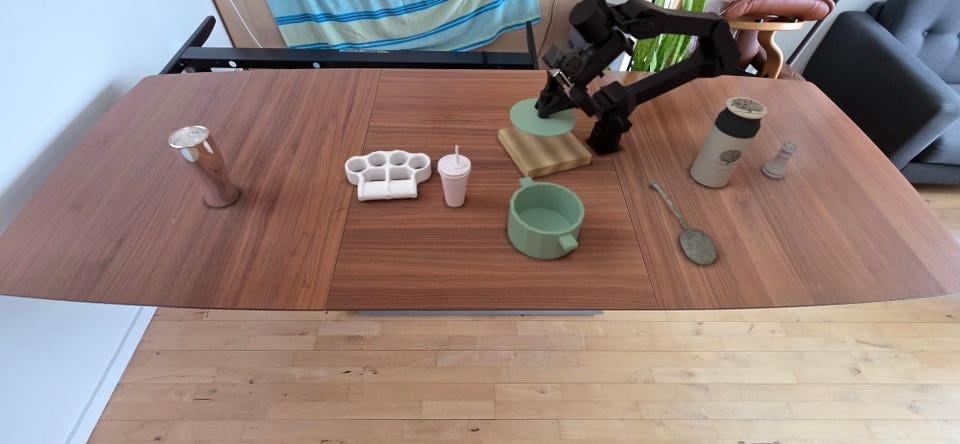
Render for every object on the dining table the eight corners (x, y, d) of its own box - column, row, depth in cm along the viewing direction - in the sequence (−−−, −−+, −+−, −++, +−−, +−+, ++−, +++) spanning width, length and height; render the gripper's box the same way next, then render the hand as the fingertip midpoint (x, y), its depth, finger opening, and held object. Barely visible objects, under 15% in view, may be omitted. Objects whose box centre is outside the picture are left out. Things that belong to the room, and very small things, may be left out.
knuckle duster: (343, 205, 87) (350, 160, 96) (433, 200, 88) (430, 156, 98) (340, 193, 84) (347, 148, 94) (432, 188, 86) (429, 144, 96)
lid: (582, 110, 96) (588, 83, 91) (567, 146, 87) (572, 118, 82) (521, 96, 99) (524, 69, 94) (500, 129, 90) (501, 102, 85)
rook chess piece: (782, 170, 99) (802, 141, 93) (782, 181, 96) (803, 153, 90) (761, 164, 100) (779, 136, 94) (761, 175, 97) (780, 147, 91)
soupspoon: (687, 269, 79) (719, 266, 80) (696, 258, 76) (728, 255, 78) (639, 186, 93) (666, 184, 94) (644, 174, 90) (672, 173, 92)
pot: (549, 193, 91) (554, 167, 86) (597, 258, 79) (606, 233, 74) (491, 208, 87) (493, 182, 82) (532, 279, 76) (537, 254, 70)
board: (556, 125, 108) (557, 117, 106) (589, 163, 98) (591, 155, 96) (497, 138, 104) (498, 129, 102) (526, 179, 94) (528, 170, 92)
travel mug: (689, 162, 100) (724, 92, 87) (726, 170, 98) (767, 100, 85) (689, 183, 94) (726, 112, 81) (727, 192, 93) (771, 121, 80)
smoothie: (466, 214, 86) (467, 158, 76) (435, 208, 87) (432, 153, 76) (473, 192, 90) (474, 137, 80) (443, 188, 91) (441, 133, 81)
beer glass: (248, 190, 89) (218, 129, 78) (224, 212, 84) (189, 151, 73) (221, 182, 90) (188, 121, 79) (196, 204, 86) (157, 142, 75)
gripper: (557, 11, 86) (501, 68, 92) (597, 53, 74) (529, 116, 80) (585, 45, 93) (531, 97, 99) (626, 89, 81) (562, 145, 87)
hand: (537, 112), depth 91 cm, fingers closed on lid, 3 cm apart
